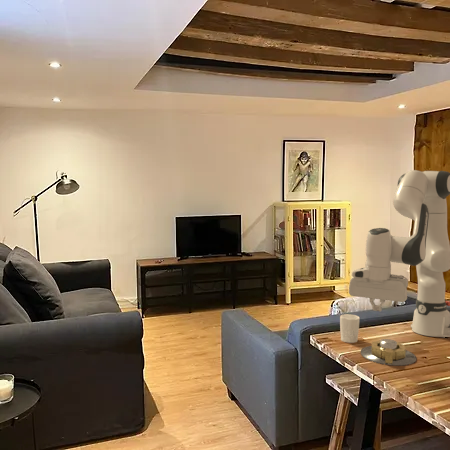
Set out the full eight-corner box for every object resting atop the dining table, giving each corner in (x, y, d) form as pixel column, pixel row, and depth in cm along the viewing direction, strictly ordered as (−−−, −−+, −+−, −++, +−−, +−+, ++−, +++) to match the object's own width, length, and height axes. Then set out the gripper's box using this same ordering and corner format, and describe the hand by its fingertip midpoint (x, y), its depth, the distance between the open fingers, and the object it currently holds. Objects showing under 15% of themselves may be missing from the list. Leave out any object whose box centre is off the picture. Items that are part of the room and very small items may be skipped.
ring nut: (371, 346, 183) (372, 336, 183) (404, 349, 180) (404, 339, 179) (371, 361, 168) (371, 350, 168) (406, 365, 165) (407, 354, 164)
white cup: (359, 344, 189) (360, 320, 188) (339, 342, 190) (340, 318, 189) (358, 337, 196) (358, 314, 195) (338, 336, 198) (339, 313, 197)
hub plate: (384, 343, 190) (385, 330, 189) (428, 359, 173) (428, 345, 172) (349, 352, 179) (349, 338, 179) (391, 369, 162) (392, 354, 162)
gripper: (409, 274, 165) (408, 312, 166) (352, 269, 176) (352, 305, 177) (406, 277, 160) (405, 316, 161) (347, 272, 170) (347, 308, 171)
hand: (376, 310), depth 169 cm, fingers closed
